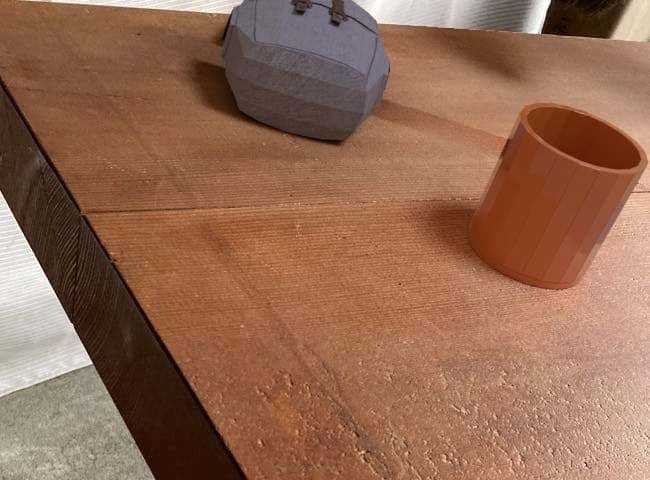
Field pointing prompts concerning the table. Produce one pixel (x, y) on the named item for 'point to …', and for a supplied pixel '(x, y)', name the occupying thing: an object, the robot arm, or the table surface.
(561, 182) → the orange cup
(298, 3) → the small grey backpack
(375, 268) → the table surface
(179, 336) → the table surface
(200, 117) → the table surface
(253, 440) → the table surface
